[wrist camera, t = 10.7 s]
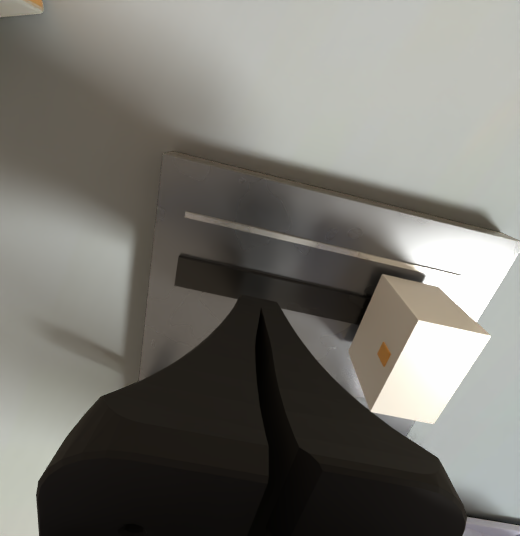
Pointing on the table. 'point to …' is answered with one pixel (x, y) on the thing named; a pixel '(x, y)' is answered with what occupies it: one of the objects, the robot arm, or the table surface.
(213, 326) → the console plate
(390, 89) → the table surface
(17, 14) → the small box
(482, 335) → the fader knob
